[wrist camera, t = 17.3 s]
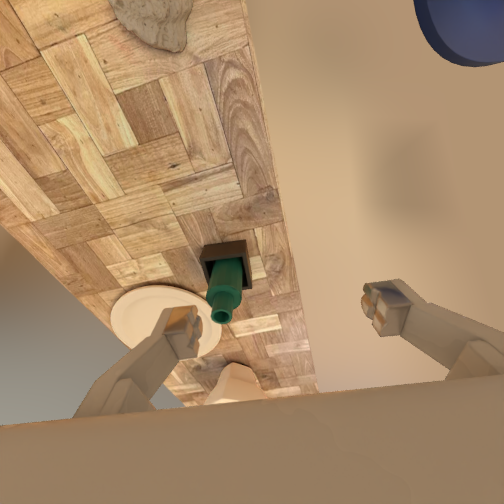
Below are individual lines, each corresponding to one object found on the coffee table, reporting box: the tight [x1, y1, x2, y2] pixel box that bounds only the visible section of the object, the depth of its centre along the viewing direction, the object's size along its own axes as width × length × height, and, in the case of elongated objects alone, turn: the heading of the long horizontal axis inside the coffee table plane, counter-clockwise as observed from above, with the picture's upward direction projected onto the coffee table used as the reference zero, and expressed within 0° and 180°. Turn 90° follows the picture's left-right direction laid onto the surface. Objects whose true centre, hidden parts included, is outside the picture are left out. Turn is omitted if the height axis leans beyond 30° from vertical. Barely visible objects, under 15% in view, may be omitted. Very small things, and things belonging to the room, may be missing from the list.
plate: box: [111, 285, 222, 361], centre depth 53 cm, size 28×28×2 cm
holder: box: [200, 240, 252, 290], centre depth 43 cm, size 9×9×6 cm
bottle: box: [206, 257, 243, 324], centre depth 38 cm, size 6×6×16 cm
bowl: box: [203, 362, 267, 405], centre depth 60 cm, size 19×19×14 cm
